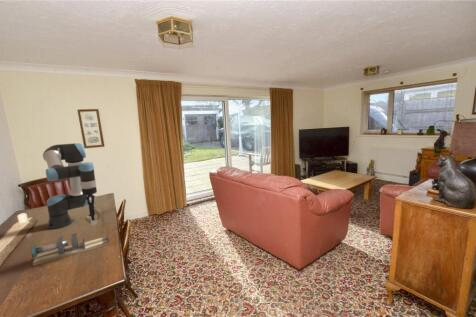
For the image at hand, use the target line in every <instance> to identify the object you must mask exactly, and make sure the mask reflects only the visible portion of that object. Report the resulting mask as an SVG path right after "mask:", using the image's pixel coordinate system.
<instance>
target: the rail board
mask: <svg viewBox="0 0 476 317" xmlns="http://www.w3.org/2000/svg"><path fill="white" fill-rule="evenodd" d="M108 244H109V245H110V241H109V242H108V240H107V235H106V236H103V237H99V238H95V239H92V240H91V239H90V240H88V241H85V249H83V242H80V243H78V250H75V251H73V249H72V245H68V246H65V253H64V254H60V255H59V252H58V248H57V249H53V250H49V251H45V252H41V253H38V256H37V257H34V260H33V261H32V266H38V265H42V264H45V263H48V262H52V261H55V260H59V259H62V258H66V257H69V256H74V255H76V254H80V253H84V252H87V251H91V250H95V249H98V248H100V247H102V248H103V247H105V246H108Z"/></svg>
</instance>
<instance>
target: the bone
mask: <svg viewBox="0 0 476 317" xmlns="http://www.w3.org/2000/svg"><path fill="white" fill-rule="evenodd" d="M94 211H95V215H97V218H96V224H97V223H99V222H101V219H102V212H101V211H100V210H99V209H97V208H94ZM84 220H85V221H86V222H88V224H91V220H90V216H89V215H88V216H85V218H84Z"/></svg>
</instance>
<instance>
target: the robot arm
mask: <svg viewBox="0 0 476 317" xmlns="http://www.w3.org/2000/svg"><path fill="white" fill-rule="evenodd" d="M86 157H87V156H86V151H85V147H84V146H83V144H82V143H64V144H63V143H62V144H54V145H51V146H49V147H47V148H45V150H44V152H42V158H43V160H44V161H45V162H46V164H47V167H48V168H47V169H45V176H46V180H47V181H48V182H51V181H52V182H54V181H55V182H56V181H61V180H66V179H69V186H70V191H69V192H68V195H66V194H65V193H62V194H56V195H53V196H51V197H49V198H47V200H46V206H47V214H48V222H47V229H48V230H57V229H61V228H64V227H67V226H69V225H71V224H72V223H73V218H72V217H71V216H70V214H69V211H71V210H75V209H79V208H84V207H87V206H88V209H89V214H88V217H90V220H91V223H90V225H91V226H95V225H97V223H96V220H97V218H96V215H97V214H95V211H94V209H96V208H95V194H96V193H97V192H98V191H97V182H96V176H95V174H96V173H95V167H94V163H93V162H91V161H88V162H87V161H86V162H84V159H85V158H86ZM63 161H64V162H65V163H66V164H67V166H65V165H64V164H63ZM93 194H94V195H93Z"/></svg>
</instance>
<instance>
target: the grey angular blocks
mask: <svg viewBox="0 0 476 317" xmlns="http://www.w3.org/2000/svg"><path fill="white" fill-rule="evenodd" d="M105 233H106V236H107V240H108V242H109V243H110V239H109V233H108V231H106V232H105ZM63 241H65V238H64V236H59V237H58V238H57V241H56V243H57V246H58V248H57V249H58V252H59V255H60V254H64V253H65V247H66V246H63ZM70 241H71V246H72V249H73V251H75V250H78V244H79V240H78V233H72V234H71V237H70ZM85 242H86V239H85V237H82V243H83V249H85Z"/></svg>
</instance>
